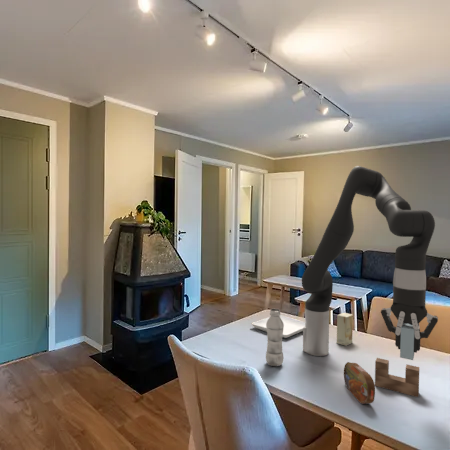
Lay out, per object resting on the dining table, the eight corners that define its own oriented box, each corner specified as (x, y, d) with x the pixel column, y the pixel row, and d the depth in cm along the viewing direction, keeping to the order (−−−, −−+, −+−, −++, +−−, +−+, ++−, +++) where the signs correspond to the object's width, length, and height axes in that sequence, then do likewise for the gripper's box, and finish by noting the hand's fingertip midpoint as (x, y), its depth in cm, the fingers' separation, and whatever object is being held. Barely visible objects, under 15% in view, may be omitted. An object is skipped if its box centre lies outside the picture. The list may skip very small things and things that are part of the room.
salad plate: (286, 342, 143) (286, 334, 143) (250, 329, 158) (250, 322, 158) (313, 331, 157) (313, 323, 157) (278, 320, 173) (278, 313, 172)
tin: (342, 383, 108) (343, 357, 107) (351, 382, 108) (352, 357, 108) (366, 410, 93) (366, 380, 92) (376, 409, 93) (377, 380, 93)
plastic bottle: (284, 362, 123) (285, 308, 122) (281, 370, 116) (282, 313, 116) (267, 359, 125) (268, 306, 124) (263, 367, 118) (264, 311, 118)
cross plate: (413, 360, 85) (414, 329, 85) (400, 357, 87) (400, 327, 87) (416, 343, 97) (417, 316, 97) (405, 340, 99) (406, 314, 98)
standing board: (374, 385, 106) (375, 361, 106) (376, 381, 108) (377, 357, 108) (418, 397, 99) (418, 371, 99) (418, 392, 102) (419, 367, 102)
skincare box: (345, 346, 138) (346, 317, 137) (336, 343, 141) (336, 315, 141) (352, 342, 142) (353, 314, 142) (343, 339, 145) (343, 312, 145)
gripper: (441, 286, 87) (438, 351, 87) (382, 280, 94) (380, 339, 95) (440, 292, 80) (438, 361, 81) (378, 284, 88) (376, 348, 89)
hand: (407, 349), depth 88 cm, fingers closed on cross plate, 3 cm apart
